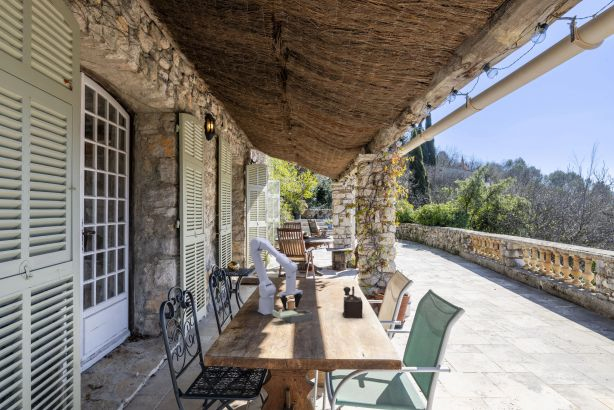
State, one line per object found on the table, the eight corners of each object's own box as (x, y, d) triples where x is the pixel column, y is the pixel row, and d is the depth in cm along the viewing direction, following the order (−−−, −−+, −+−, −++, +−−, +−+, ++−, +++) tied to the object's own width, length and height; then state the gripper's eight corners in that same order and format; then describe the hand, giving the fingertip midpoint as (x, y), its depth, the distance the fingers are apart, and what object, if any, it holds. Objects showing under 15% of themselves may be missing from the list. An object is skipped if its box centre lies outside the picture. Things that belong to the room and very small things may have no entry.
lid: (272, 315, 188) (272, 310, 188) (291, 311, 195) (291, 306, 195) (278, 318, 182) (278, 313, 182) (298, 314, 189) (298, 309, 189)
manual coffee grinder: (342, 312, 207) (342, 281, 207) (361, 313, 206) (361, 282, 206) (343, 320, 191) (343, 287, 191) (363, 321, 190) (363, 288, 191)
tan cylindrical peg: (285, 313, 200) (285, 301, 200) (291, 312, 202) (292, 300, 202) (289, 315, 197) (289, 302, 197) (295, 314, 199) (295, 302, 199)
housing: (276, 316, 199) (276, 309, 199) (297, 312, 207) (297, 306, 207) (291, 323, 186) (291, 317, 186) (312, 319, 193) (312, 312, 193)
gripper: (283, 286, 192) (283, 311, 192) (305, 283, 200) (305, 307, 200) (277, 284, 198) (276, 308, 198) (298, 281, 206) (298, 304, 206)
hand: (290, 308), depth 200 cm, fingers open, 7 cm apart
